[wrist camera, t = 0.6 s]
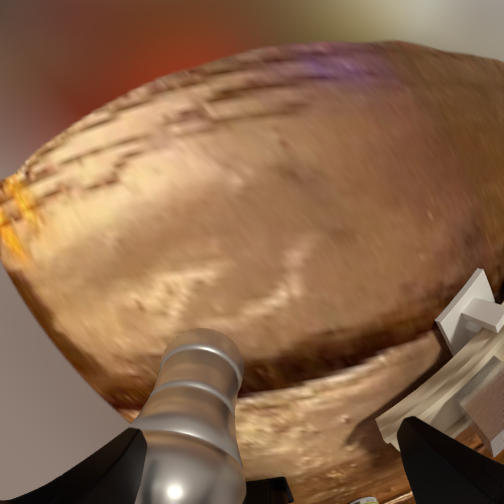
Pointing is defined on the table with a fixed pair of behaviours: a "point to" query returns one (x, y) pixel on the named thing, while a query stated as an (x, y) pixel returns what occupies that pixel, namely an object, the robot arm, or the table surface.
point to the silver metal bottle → (193, 424)
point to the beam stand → (470, 313)
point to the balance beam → (444, 389)
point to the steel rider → (485, 404)
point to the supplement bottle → (365, 501)
